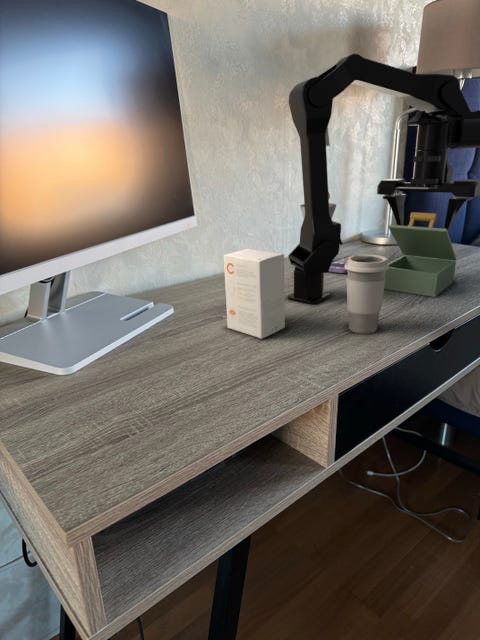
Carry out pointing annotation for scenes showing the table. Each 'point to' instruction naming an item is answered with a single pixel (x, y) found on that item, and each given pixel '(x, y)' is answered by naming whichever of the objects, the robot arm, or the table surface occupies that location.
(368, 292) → the cup
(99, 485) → the table surface
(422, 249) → the box lid
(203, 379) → the table surface
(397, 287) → the desk box
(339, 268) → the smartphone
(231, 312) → the small box
